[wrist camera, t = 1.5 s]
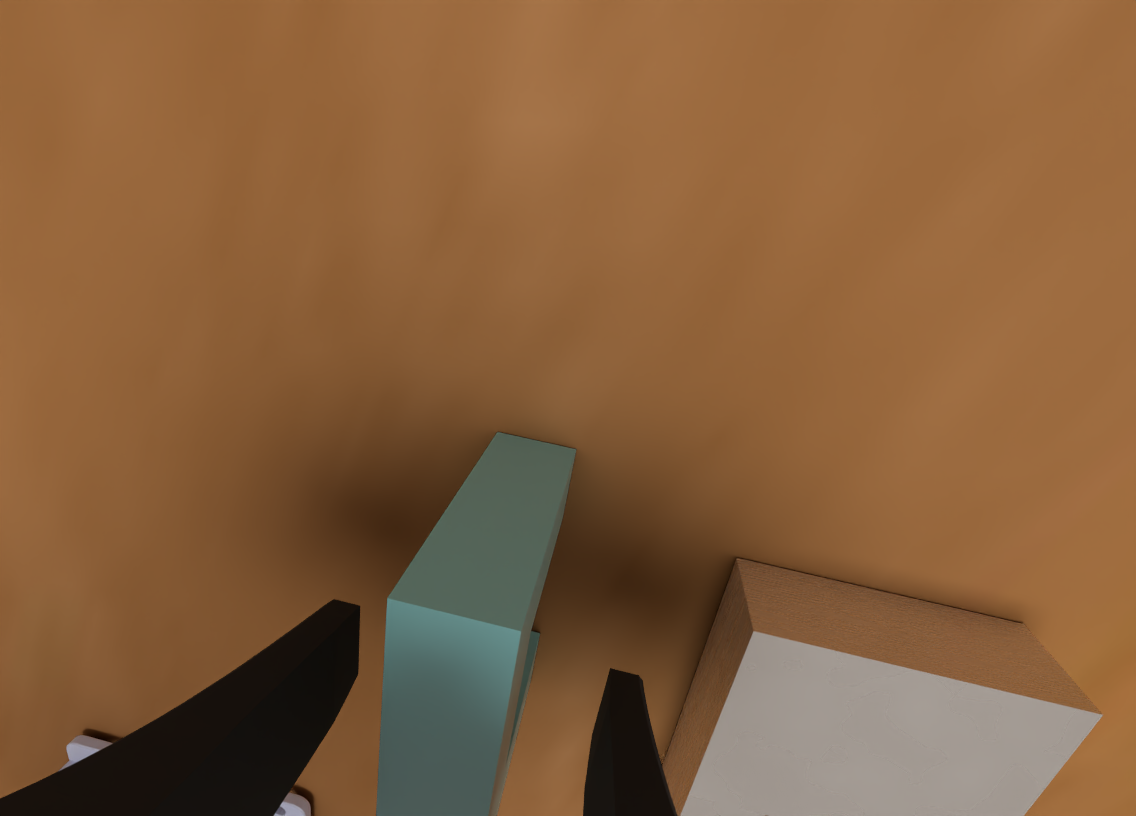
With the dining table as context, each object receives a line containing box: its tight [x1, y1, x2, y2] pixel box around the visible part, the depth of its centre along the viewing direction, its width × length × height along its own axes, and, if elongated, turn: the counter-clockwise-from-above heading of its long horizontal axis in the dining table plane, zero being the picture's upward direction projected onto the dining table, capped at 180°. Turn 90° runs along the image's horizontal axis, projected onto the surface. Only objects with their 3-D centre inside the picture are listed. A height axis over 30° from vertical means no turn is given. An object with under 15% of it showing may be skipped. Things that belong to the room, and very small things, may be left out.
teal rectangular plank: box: [376, 432, 576, 816], centre depth 12 cm, size 2×8×6 cm, turn 171°
